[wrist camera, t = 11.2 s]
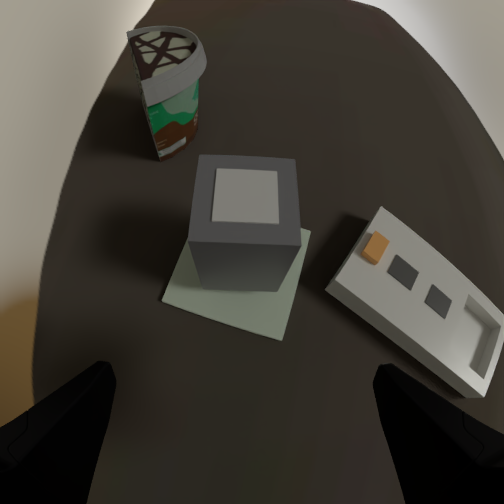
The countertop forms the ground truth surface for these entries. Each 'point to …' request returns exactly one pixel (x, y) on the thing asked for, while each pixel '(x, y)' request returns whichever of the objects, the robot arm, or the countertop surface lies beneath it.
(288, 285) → the mat
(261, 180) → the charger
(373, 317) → the power strip
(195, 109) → the food container
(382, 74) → the countertop surface
